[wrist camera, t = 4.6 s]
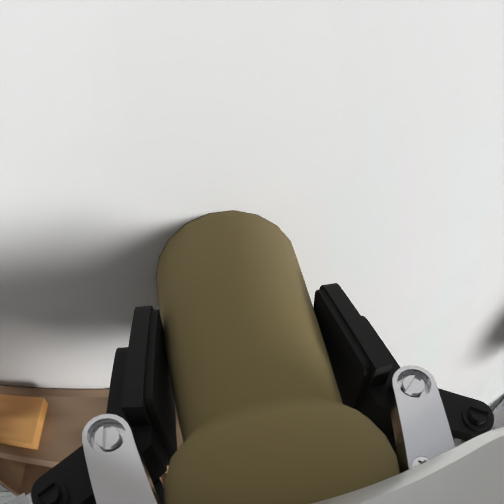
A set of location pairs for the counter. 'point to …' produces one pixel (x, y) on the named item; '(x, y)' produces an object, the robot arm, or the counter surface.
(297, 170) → the counter surface
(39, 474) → the spice rack
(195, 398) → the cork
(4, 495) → the supplement box
